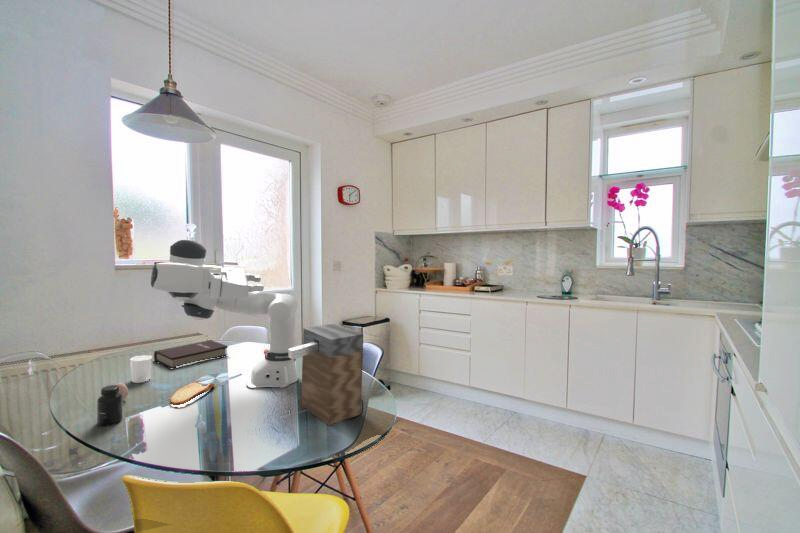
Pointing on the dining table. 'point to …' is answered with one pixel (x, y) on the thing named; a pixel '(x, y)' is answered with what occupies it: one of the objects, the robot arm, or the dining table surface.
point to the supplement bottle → (109, 406)
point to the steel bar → (303, 350)
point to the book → (189, 353)
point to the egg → (123, 389)
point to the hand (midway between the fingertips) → (261, 283)
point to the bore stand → (333, 373)
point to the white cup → (141, 368)
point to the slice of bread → (189, 392)
